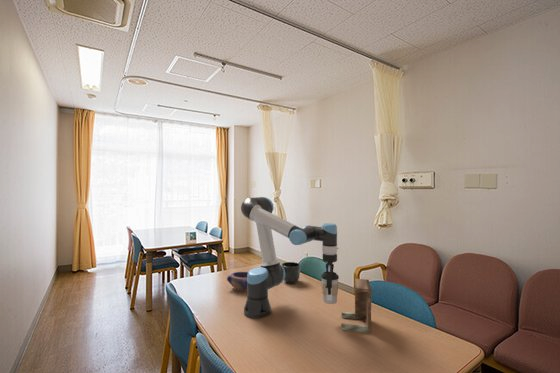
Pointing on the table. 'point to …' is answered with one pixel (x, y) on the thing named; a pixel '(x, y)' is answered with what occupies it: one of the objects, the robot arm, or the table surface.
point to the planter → (291, 272)
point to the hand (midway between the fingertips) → (329, 296)
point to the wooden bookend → (360, 307)
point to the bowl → (238, 280)
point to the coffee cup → (334, 288)
